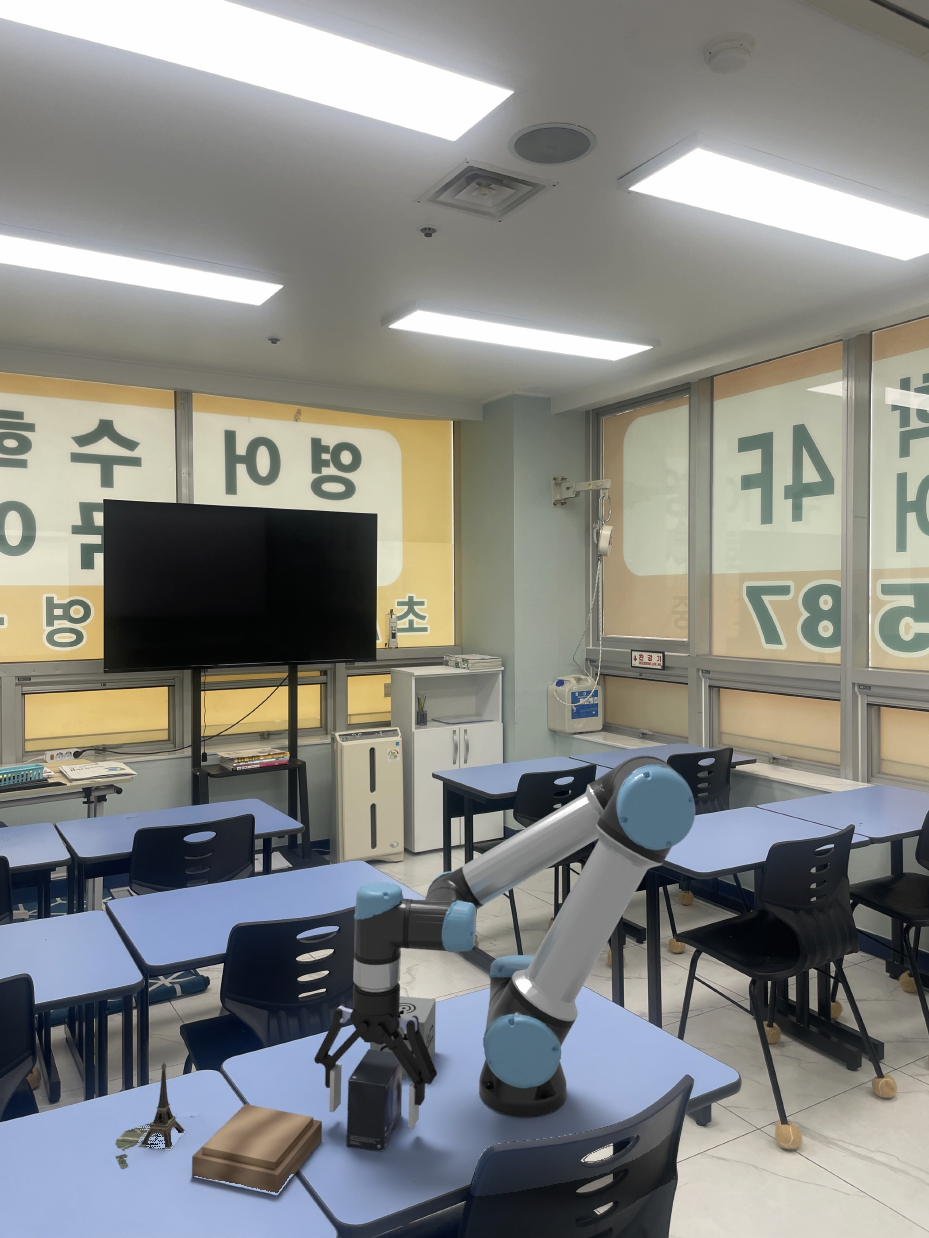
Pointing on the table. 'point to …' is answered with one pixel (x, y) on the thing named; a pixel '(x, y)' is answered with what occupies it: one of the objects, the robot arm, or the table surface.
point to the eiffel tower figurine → (151, 1126)
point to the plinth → (258, 1148)
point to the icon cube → (426, 1017)
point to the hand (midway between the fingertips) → (373, 1115)
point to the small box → (374, 1100)
